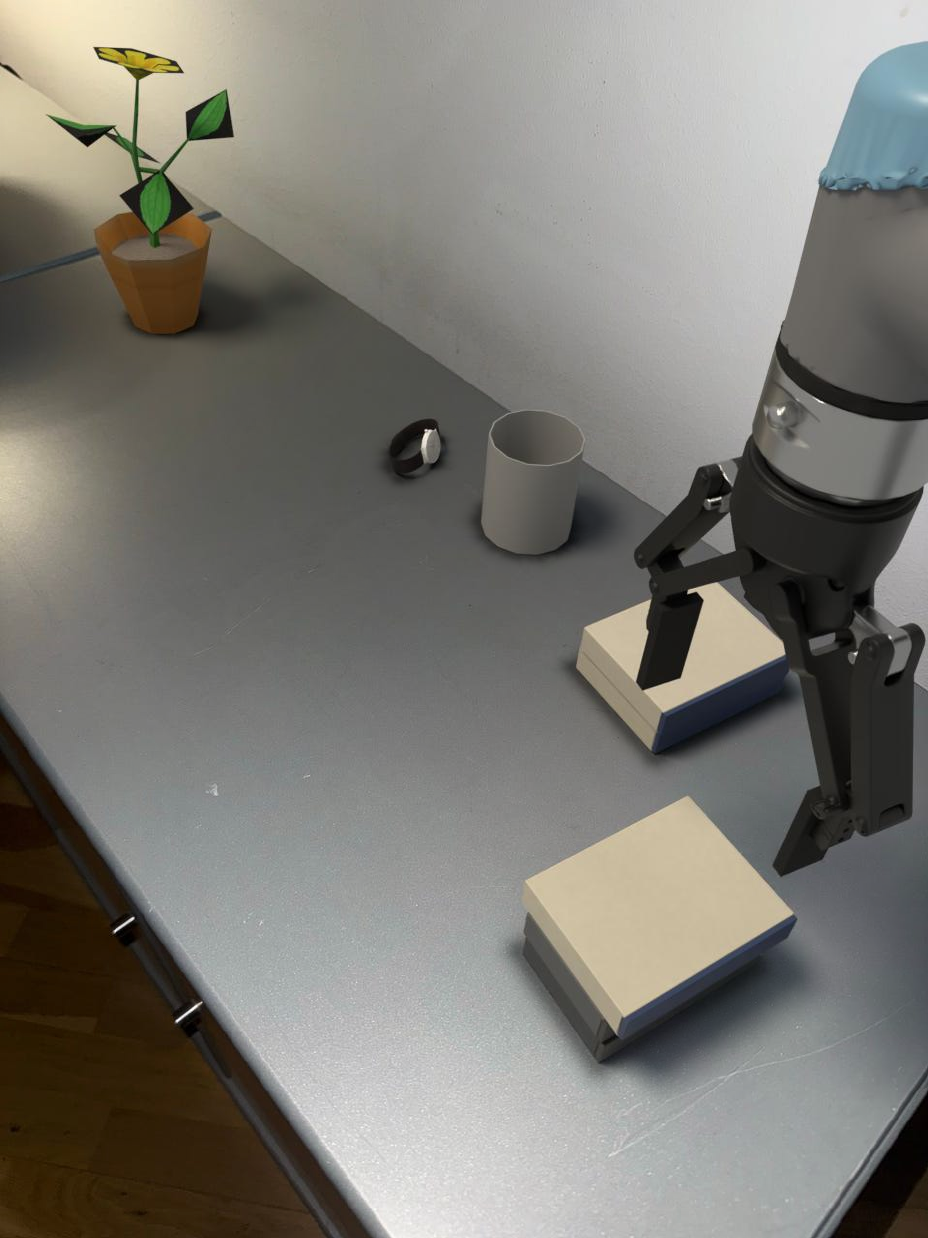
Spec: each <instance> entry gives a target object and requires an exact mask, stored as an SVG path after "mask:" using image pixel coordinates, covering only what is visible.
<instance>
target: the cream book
mask: <svg viewBox="0 0 928 1238" xmlns="http://www.w3.org/2000/svg"><path fill="white" fill-rule="evenodd" d="M521 903H522V905H523V907H524V908H525V910H526V911H527V913H528V912H529V913H530V914H531V916H532V917H533V919H534V920H535V921H536V923H537V924H538V926H539V927H540V928H541V930H542V931H543V933H544V934H545V935H546V937H547V938H548V940H549V941H550V942H551V944H552V945H553V947H554V948H555V949H556V951H557V952H558V954H559V955H560V956H561V958H562V959H563V961H564V962H565V963H566V965H567V966H568V968H569V969H570V970H571V972H572V973H573V975H574V976H575V977H576V979H577V980H578V982H579V983H580V984H581V986H582V987H583V989H584V990H585V991H586V993H587V994H588V996H589V997H590V998H591V1000H592V1001H593V1003H594V1004H595V1005H596V1007H597V1008H598V1010H599V1011H600V1012H601V1014H602V1015H603V1017H604V1018H605V1019H606V1021H607V1022H608V1023H609V1025H610V1026H611V1028H612V1029H613V1030H614V1032H615V1033H616V1035H617V1036H619V1038H620V1039H621V1040H624V1039H626V1038H627V1037H629V1036H631V1035H632V1034H634V1033H635V1032H637V1031H639V1030H640V1029H642V1028H643V1027H645V1026H647V1025H648V1024H650V1023H651V1022H653V1021H655V1020H656V1019H658V1018H660V1017H661V1016H663V1015H664V1014H666V1013H668V1012H669V1011H671V1010H672V1009H674V1008H676V1007H677V1006H679V1005H680V1004H682V1003H684V1002H685V1001H687V1000H688V999H690V998H692V997H693V996H695V995H696V994H698V993H700V992H701V991H703V990H705V989H706V988H708V987H709V986H711V985H713V984H714V983H716V982H717V981H719V980H721V979H722V978H724V977H725V976H727V975H729V974H730V973H732V972H733V971H735V970H737V969H738V968H740V967H742V966H743V965H745V964H746V963H748V962H750V961H751V960H753V959H754V958H756V957H758V956H759V955H761V956H762V955H763V954H764V953H765V952H767V951H769V950H770V949H772V948H773V947H776V946H777V945H778V944H780V943H782V942H784V941H785V940H787V939H788V938H789V936H790V934H791V933H792V932H793V929H794V927H795V925H796V923H797V922H798V917H797V916H796V915H795V913H794V911H793V910H792V909H791V908H790V906H788V904H786V902H785V901H783V899H782V898H781V897H780V896H779V895H778V894H777V893H776V892H775V890H774V889H773V888H772V887H771V886H770V885H769V884H768V883H767V882H766V880H765V879H764V878H763V877H762V875H760V874H759V872H758V871H757V870H756V869H755V868H754V866H752V865H751V863H750V862H749V861H748V860H747V859H746V858H745V857H744V856H743V854H741V852H740V851H739V850H738V849H737V848H736V847H735V846H734V845H733V844H732V842H731V841H730V839H728V838H727V837H726V836H725V834H724V833H723V832H722V831H721V829H719V828H718V827H717V826H716V824H714V822H713V821H712V820H711V819H710V818H709V817H708V816H707V815H706V813H705V812H704V811H703V810H702V809H701V808H700V807H699V805H697V803H696V802H695V801H694V800H693V799H692V798H691V796H689V795H686V796H684V797H682V798H681V799H678V800H676V801H675V802H673V803H671V804H669V805H667V806H665V807H663V808H661V809H659V810H657V811H655V812H654V813H652V814H650V815H648V816H646V817H644V818H642V819H640V820H639V821H636V822H635V823H633V824H631V825H629V826H627V827H625V828H623V829H621V830H619V831H617V832H615V833H614V834H612V835H610V836H608V837H605V838H604V839H602V840H600V841H598V842H596V843H594V844H592V845H590V846H589V847H587V848H585V849H583V850H581V851H579V852H577V853H575V854H573V855H572V856H571V855H570V856H569V857H567V858H566V859H564V860H562V861H560V862H558V863H556V864H554V865H553V866H551V867H548V868H547V869H544V870H542V871H541V872H539V873H536V874H535V875H533V876H531V877H529V878H528V879H525V881H524V885H523V890H522V896H521Z"/></svg>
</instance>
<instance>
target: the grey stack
mask: <svg viewBox="0 0 928 1238" xmlns="http://www.w3.org/2000/svg"><path fill="white" fill-rule="evenodd" d="M523 927H524V928H523V934H524V937H525V939H524V945H523V950H522V956H523V957H524V958H525V960H526V961H527V963H528V964H529V965H530V967H531V968H532V969H533V972H534V973H535V974H536V976H537V977H538V979H539V980H540V982H541V983H542V984H543V986H544V987H545V988H546V990H547V991H548V993H549V994H550V996H551V997H552V999H553V1001H554V1002H555V1003H556V1005H557V1006H558V1008H559V1009H560V1010H561V1012H562V1013H563V1015H564V1016H565V1017H566V1019H567V1020H568V1022H569V1023H570V1024H571V1026H572V1028H573V1029H574V1031H575V1032H576V1033H577V1035H578V1036H579V1038H580V1039H581V1040H582V1042H583V1044H584V1045H585V1047H586V1048H587V1049H588V1051H589V1052H590V1054H591V1055H592V1057H593V1059H595V1060H596V1061H597V1062H598V1063H601V1062H602V1061H604V1060H605V1059H607V1058H609V1057H610V1056H612V1055H613V1054H615V1053H616V1052H618V1051H620V1050H622V1049H623V1048H625V1047H627V1046H628V1045H630V1044H631V1043H632V1042H634V1041H636V1040H638V1039H639V1038H641V1037H643V1036H644V1035H645V1034H647V1033H649V1032H651V1031H652V1030H653V1029H655V1028H656V1027H658V1026H660V1025H661V1024H663V1023H665V1022H666V1021H668V1020H669V1019H671V1018H672V1017H674V1016H676V1015H678V1014H679V1013H680V1012H682V1011H684V1010H685V1009H687V1008H689V1007H690V1006H692V1005H694V1004H695V1003H697V1002H698V1001H700V1000H702V999H703V998H704V997H706V996H708V995H709V994H711V993H712V992H714V991H716V990H717V989H720V988H721V987H722V986H724V985H725V984H727V983H729V982H730V981H731V980H733V979H735V978H736V977H739V976H740V975H741V974H743V973H744V972H746V971H748V970H749V969H751V968H752V967H754V966H756V965H757V964H758V962H759V961H760V959H761V956H762V954H761V955H759V956H758V957H756V958H754V959H753V960H751V961H750V962H748V963H746V964H745V965H743V966H742V967H740V968H738V969H737V970H735V971H733V972H732V973H730V974H729V975H727V976H725V977H724V978H722V979H721V980H719V981H717V982H716V983H714V984H713V985H711V986H709V987H708V988H706V989H705V990H703V991H701V992H700V993H698V994H696V995H695V996H693V997H692V998H690V999H688V1000H687V1001H685V1002H684V1003H682V1004H680V1005H679V1006H677V1007H676V1008H674V1009H672V1010H671V1011H669V1012H668V1013H666V1014H664V1015H663V1016H661V1017H660V1018H658V1019H656V1020H655V1021H653V1022H651V1023H650V1024H648V1025H647V1026H645V1027H643V1028H642V1029H640V1030H639V1031H637V1032H635V1033H634V1034H632V1035H631V1036H629V1037H627V1038H626V1039H624V1040H621V1039H620V1038H619V1036H617V1035H616V1033H615V1032H614V1030H613V1029H612V1028H611V1026H610V1025H609V1023H608V1022H607V1021H606V1019H605V1018H604V1017H603V1015H602V1014H601V1012H600V1011H599V1010H598V1008H597V1007H596V1005H595V1004H594V1003H593V1001H592V1000H591V998H590V997H589V996H588V994H587V993H586V991H585V990H584V989H583V987H582V986H581V984H580V983H579V982H578V980H577V979H576V977H575V976H574V975H573V973H572V972H571V970H570V969H569V968H568V966H567V965H566V963H565V962H564V961H563V959H562V958H561V956H560V955H559V954H558V952H557V951H556V949H555V948H554V947H553V945H552V944H551V942H550V941H549V940H548V938H547V937H546V935H545V934H544V933H543V931H542V930H541V928H540V927H539V926H538V924H537V923H536V921H535V920H534V919H533V917H532V916H531V914H530V913H529V912H528V911H527V912H526V917H525V921H524V926H523Z"/></svg>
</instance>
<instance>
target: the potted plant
mask: <svg viewBox="0 0 928 1238" xmlns="http://www.w3.org/2000/svg"><path fill="white" fill-rule="evenodd" d="M92 48H93V50H94V52H95V54H96V57H97V58H98V59H99V60H101V61H105V62H108V63H112V64H114V65H119V66H122V67H123V68H124V69H125V70H126V71H127V72H128V73H129V74H130V75H131V77H133V78H134V79H135V94H134V109H133V124H132V138H131V139H132V140H129V139H128V138H126V137H123V136H121V134H120V133H119V131H118V130H117V129H116V127H117V126H118V125H117V124H83V123H79V122H76V121H71V120H69V119H65V118H62V117H58V116H54V115H50V114H46V113H45V115H46V116H47V117H48V118H49V119H51V120H52V121H53V122H55V124H57V125H58V126H59V127H61V128H62V129H63V130H64V131H66V132H67V133H69V135H71V136H72V137H74V138H75V139H76V140H77V141H79V142H80V143H81V144H82V145H84V146H85V147H86V148H89V147H90V146H91V145H93V144H94V143H96V142H97V141H98V140H99V139H101V138H102V137H104V136H106V138H108V139H110V140H111V141H113V142H114V143H115V144H117V146H119V147H121V148H122V149H123V150H125V151H126V152H127V153H129V155H130V157H131V161H132V165H133V169H134V172H135V176H136V180H137V184H135V185H133V186H132V187H130V188H129V189H127V190H125V191H124V192H122V193H121V194H119V195H118V196H119V197H120V198H121V200H122V201H123V202H124V204H125V205H126V206H127V207H128V208H129V210H130V211H127V212H121V213H117V214H116V215H114V216H112V217H111V218H109V219H108V220H106V221H105V222H103V223H102V224H100V225H99V226H97V227H96V228H93V234H94V239H95V244H96V249H97V252H98V253H99V255H100V257H101V259H102V261H103V263H104V265H105V268H106V270H107V272H108V274H109V276H110V278H111V280H112V282H113V285H114V286H115V288H116V290H117V293H118V294H119V296H120V299H121V300H122V303H123V304H124V307H125V308H126V311H127V313H128V315H129V317H130V319H131V321H132V323H133V325H134V327H135V328H137V329H139V330H142V331H144V332H146V333H149V334H151V335H161V334H163V335H164V334H165V335H166V334H178V333H180V332H182V331H184V330H186V329H190V328H191V327H193V326H195V323H196V320H197V319H198V316H199V311H200V306H201V299H202V293H203V287H204V281H205V275H206V268H207V263H208V255H209V250H210V244H211V237H212V231H213V229H212V228H211V227H210V226H209V225H208V224H207V223H205V222H204V221H203V220H202V219H201V218H199V217H198V216H197V215H196V214H194V213H193V212H191V211H193V210H194V209H195V208H194V207H193V205H191V203H190V202H189V201H188V200H187V199H186V197H185V196H184V195H183V193H182V192H180V190H179V189H178V188H177V186H176V185H175V184H174V183H173V182H172V180H171V179H170V178H169V177H168V175H166V171H167V170H168V169H169V168H170V166H171V165H172V163H173V162H174V161H175V159H176V158H177V157H178V156H179V154H180V153H181V151H182V150H183V149H184V147H186V145H187V144H188V142H193V141H205V140H218V139H219V140H220V139H231V138H235V134H234V127H233V121H232V114H231V107H230V101H229V95H228V89H227V88H225V89H223V90H222V91H220V92H218V93H216V94H214V95H213V96H211V97H209V98H208V99H206V100H204V101H202V102H200V103H199V104H197V105H195V106H194V107H192V108H190V109H188V110H186V111H185V131H186V140H185V141H184V142H182V143H181V145H180V146H179V147H178V148H177V150H176V151H175V152H174V153H172V155H171V156H170V157H169V159H167V161H166V162H165V163H163V165H162V164H161V162H159V160H157V159H155V158H154V157H153V156H151V155H150V154H149V153H148V152H145V150H143V149H142V148H140V147H139V146H138V144H137V143H138V142H137V141H138V128H139V127H138V125H139V106H140V105H139V100H140V81H141V80H143V79H145V78H146V77H148V76H150V75H153V74H185V72H184V70H183V69H182V68H181V66H180V65H179V63H178V62H177V60H175V59H174V60H173V59H171V58H167V57H163V56H161V55H156V54H153V53H150V52H146V51H143V50H139V49H137V48H132V47H109V46H108V47H107V46H92ZM112 130H113V131H114V132H115V133H111V131H112ZM139 158H140V159H144V160H146V161H150V162H154V163H157V164H160V165H162V166H161V167H160V168H159V169H158V168H153V167H152V168H151V167H143V166H140V161H139ZM142 173H143V174H144V173H145V174H150V175H149V176H148V177H146V178H145V179H143V176H142Z"/></svg>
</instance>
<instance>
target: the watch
mask: <svg viewBox="0 0 928 1238" xmlns="http://www.w3.org/2000/svg"><path fill="white" fill-rule="evenodd" d="M421 435H423V437H422V440H421V445H420V446H421V447H420V450H419V451H418V452H417V453H416V454H414V455H412V456H410V457H408V458H404V459H397V457H396V456H397V455H398V454H399V452H400V451H401V450H402V449H404V447H405V446H406V444H407V443H409V442H410V441H411V440H413V439H415V438H416V437H418V436H421ZM440 450H441V434H440V427H439V422H438V420H436V419H435V418H424V419H423V418H422V419H419V420H416V421H413V422H412V423H409V424H408V425H407V426H405V427H404V428H402V430H400V431H399V432H398V433H395V436H394V437H393V438H392V439H391V444H390V445H389V447H388V451H387V452H388V456H389V457H388V458H389V460H390V464H391V468H392V470H393V471H394V472H396V473H398V474H409V473H412V472H415V471H417V470H419V469H420V468H421V467H423V466H424V465H426V464H434V463H435V462H437V460H438V459H439V456H440V452H441V451H440Z"/></svg>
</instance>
